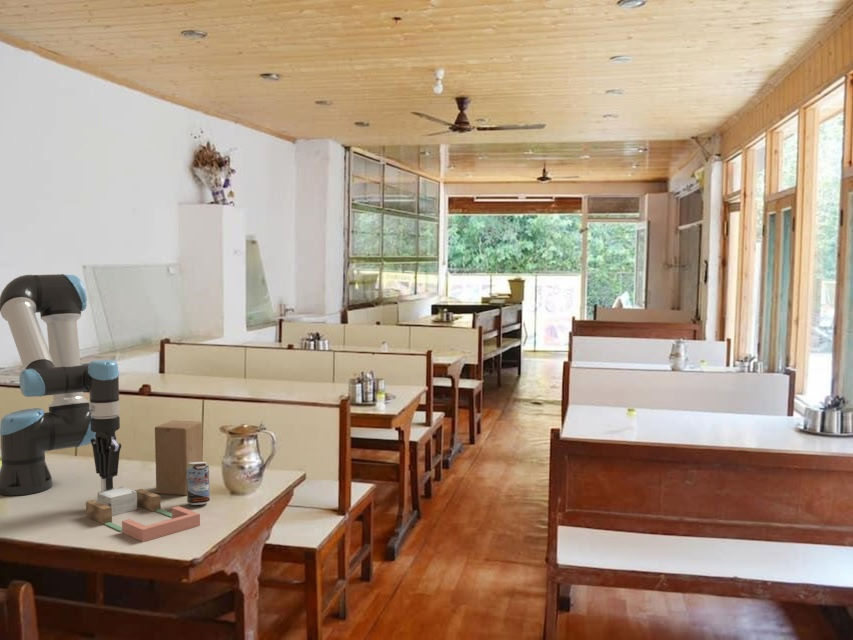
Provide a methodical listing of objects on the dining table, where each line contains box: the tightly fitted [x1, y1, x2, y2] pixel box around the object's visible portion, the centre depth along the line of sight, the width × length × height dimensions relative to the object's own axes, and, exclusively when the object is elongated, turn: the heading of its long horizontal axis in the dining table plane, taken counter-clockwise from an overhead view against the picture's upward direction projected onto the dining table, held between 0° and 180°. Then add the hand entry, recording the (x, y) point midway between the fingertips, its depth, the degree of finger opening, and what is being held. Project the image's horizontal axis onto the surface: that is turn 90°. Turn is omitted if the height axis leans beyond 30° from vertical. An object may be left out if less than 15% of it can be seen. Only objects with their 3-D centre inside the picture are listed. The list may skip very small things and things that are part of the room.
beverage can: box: [186, 461, 211, 506], centre depth 222 cm, size 6×7×12 cm
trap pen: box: [121, 506, 201, 543], centre depth 201 cm, size 10×16×3 cm, turn 139°
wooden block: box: [154, 419, 203, 496], centre depth 235 cm, size 10×10×20 cm
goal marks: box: [105, 508, 172, 533], centre depth 208 cm, size 8×16×1 cm, turn 139°
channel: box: [85, 488, 162, 526], centre depth 214 cm, size 10×16×4 cm, turn 139°
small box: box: [97, 486, 138, 517], centre depth 217 cm, size 8×8×5 cm
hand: (107, 500), depth 219 cm, fingers closed
